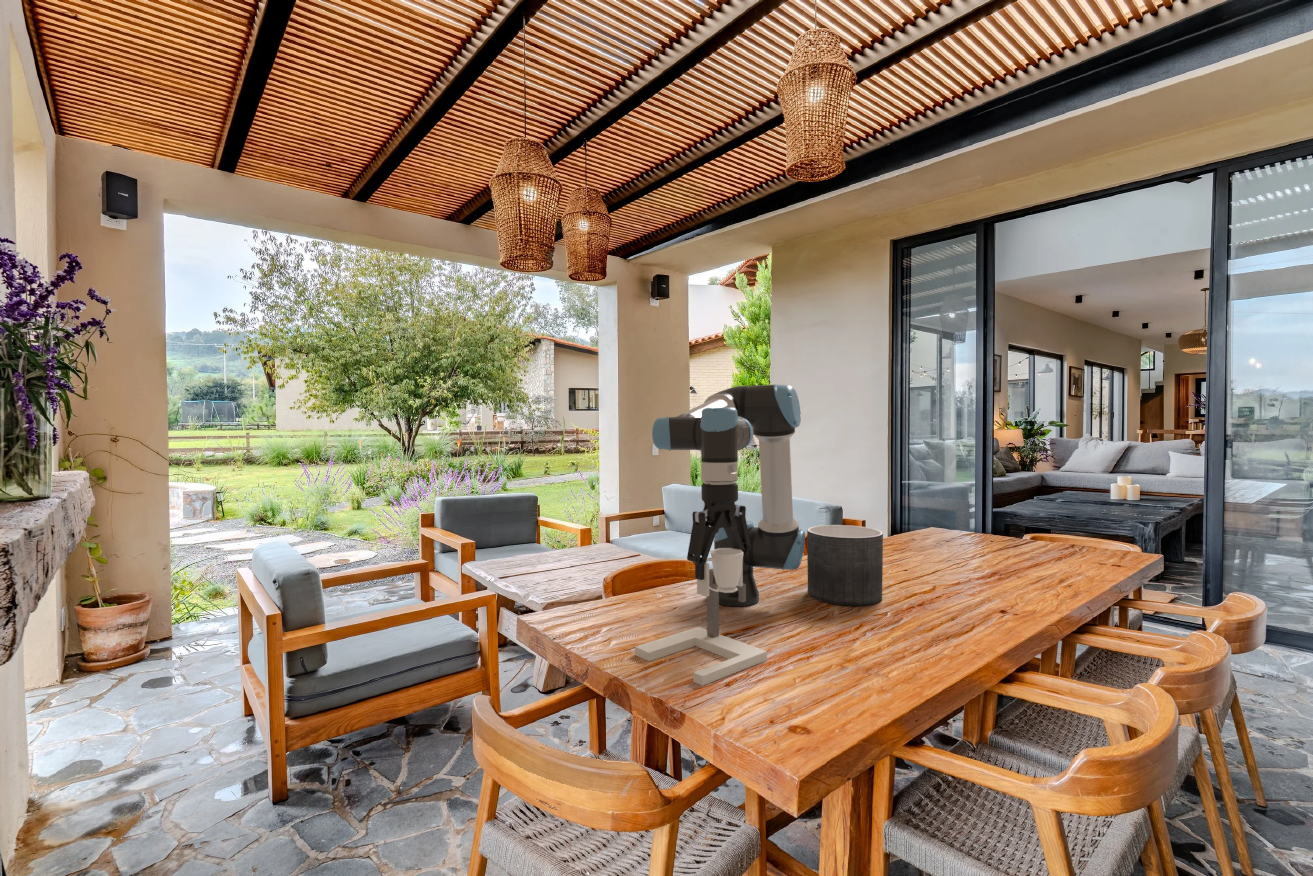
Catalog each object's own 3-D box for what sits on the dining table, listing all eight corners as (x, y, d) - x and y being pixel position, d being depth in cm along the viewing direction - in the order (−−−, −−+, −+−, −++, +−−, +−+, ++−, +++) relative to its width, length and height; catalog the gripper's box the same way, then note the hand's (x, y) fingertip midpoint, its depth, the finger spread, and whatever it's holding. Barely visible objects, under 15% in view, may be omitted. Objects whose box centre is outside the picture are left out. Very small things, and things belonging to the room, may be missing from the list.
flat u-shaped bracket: (635, 655, 142) (635, 646, 142) (698, 634, 155) (698, 626, 155) (702, 686, 125) (702, 676, 125) (767, 660, 139) (767, 651, 139)
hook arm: (707, 635, 149) (706, 570, 148) (712, 634, 150) (712, 568, 150) (741, 648, 140) (741, 578, 140) (747, 646, 142) (747, 577, 141)
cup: (750, 591, 127) (750, 552, 126) (708, 598, 122) (708, 558, 122) (732, 583, 133) (731, 546, 133) (691, 589, 129) (691, 551, 128)
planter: (881, 589, 196) (882, 527, 195) (883, 610, 175) (883, 539, 174) (810, 584, 203) (810, 523, 202) (803, 603, 182) (803, 535, 181)
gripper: (694, 488, 117) (695, 605, 117) (768, 479, 131) (768, 583, 132) (667, 485, 122) (668, 596, 123) (741, 477, 137) (741, 576, 138)
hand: (720, 589), depth 128 cm, fingers closed on cup, 9 cm apart
